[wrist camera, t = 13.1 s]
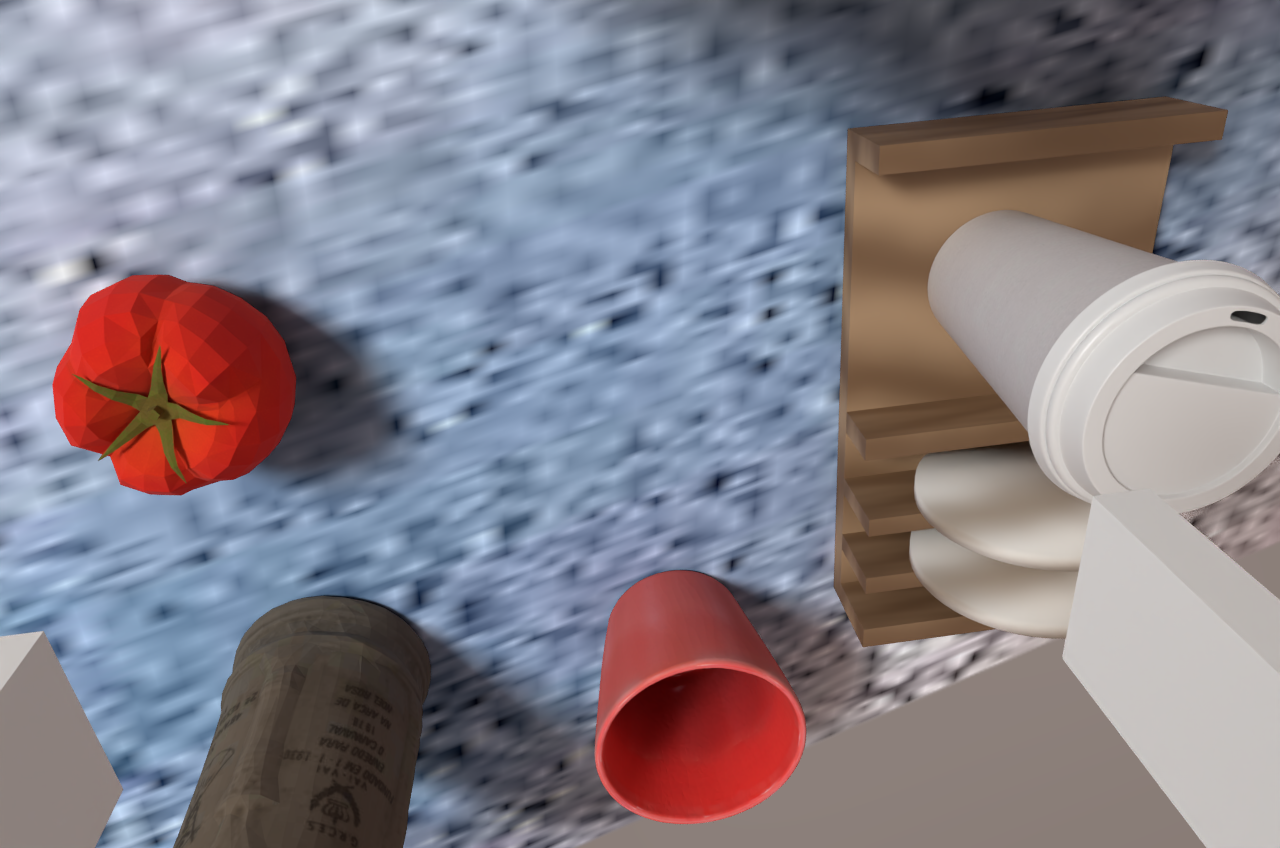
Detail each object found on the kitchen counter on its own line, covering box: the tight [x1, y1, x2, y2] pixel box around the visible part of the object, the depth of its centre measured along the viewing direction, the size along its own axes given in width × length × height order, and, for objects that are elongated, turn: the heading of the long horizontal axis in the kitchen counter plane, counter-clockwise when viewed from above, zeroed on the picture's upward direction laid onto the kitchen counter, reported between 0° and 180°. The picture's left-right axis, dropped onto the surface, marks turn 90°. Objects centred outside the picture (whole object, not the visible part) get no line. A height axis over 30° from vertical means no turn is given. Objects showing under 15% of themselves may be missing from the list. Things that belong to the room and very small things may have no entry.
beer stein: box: [173, 596, 431, 848], centre depth 44 cm, size 15×11×20 cm
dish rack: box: [834, 97, 1228, 647], centre depth 42 cm, size 26×15×12 cm, turn 4°
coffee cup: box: [928, 210, 1280, 514], centre depth 37 cm, size 10×10×15 cm
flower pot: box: [595, 570, 806, 824], centre depth 48 cm, size 11×11×10 cm
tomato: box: [53, 275, 296, 495], centre depth 39 cm, size 9×9×8 cm
